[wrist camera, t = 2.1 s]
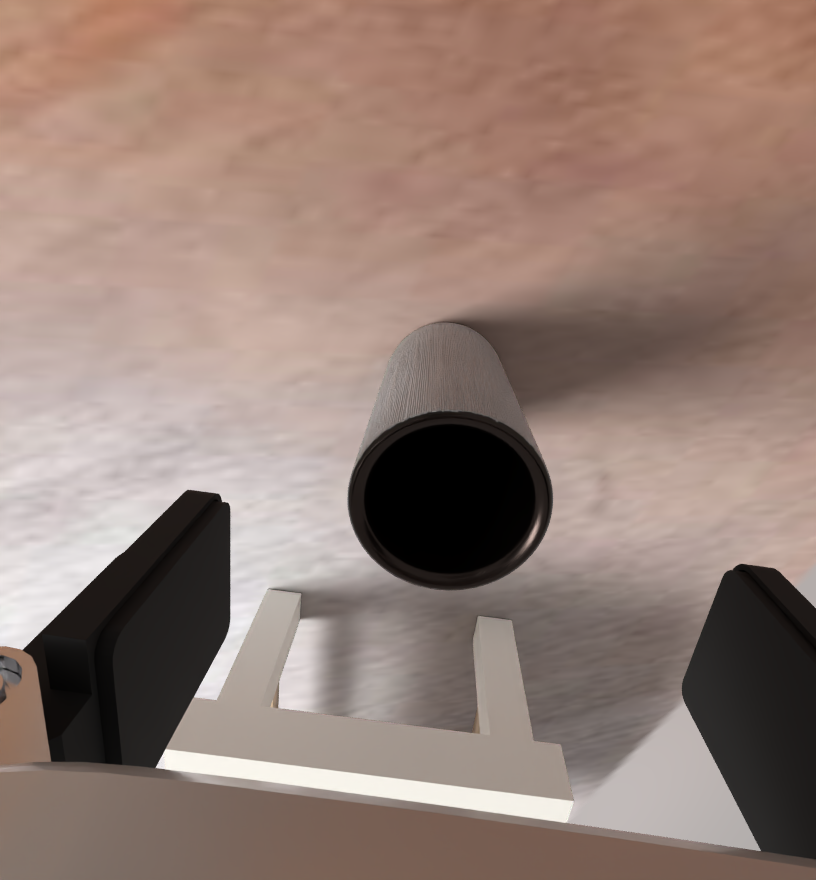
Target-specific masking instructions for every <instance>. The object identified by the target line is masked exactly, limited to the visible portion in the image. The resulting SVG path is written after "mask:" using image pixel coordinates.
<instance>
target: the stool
mask: <svg viewBox="0 0 816 880" xmlns="http://www.w3.org/2000/svg"><path fill="white" fill-rule="evenodd" d="M300 608H301V593H295V592H287V591H279V590H271V589H267V591H266V594H265V596H264V598H263V600H262V602H261V605H260V607H259V609H258V611H257V613H256V616H255V618H254V620H253V622H252V624H251V627H250V629H249V631H248V633H247V635H246V638H245V640H244V642H243V644H242V646H241V648H240V651H239V653H238V655H237V657H236V659H235V662H234V664H233V666H232V668H231V670H230V673H229V675H228V677H227V679H226V681H225V684H224V686H223V688H222V690H221V692H220V695H219V697H218V699H217V700H210V699H202V698H194V697H193V699H192V701H191V703H190V705H189V706H188V708H187V710H186V712H185V714H184V716H183V718H182V719H181V721H180V723H179V725H178V727H177V729H176V731H175V732H174V734H173V736H172V738H171V740H170V742H169V743H168V745H167V747H166V749H165V751H164V761H165V769H166V770H175V771H184V772H192V773H200V774H209V775H217V776H226V777H234V778H242V779H251V780H259V781H266V782H274V783H281V784H289V785H296V786H303V787H311V788H318V789H325V790H333V791H340V792H347V793H355V794H362V795H370V796H377V797H384V798H392V799H399V800H406V801H414V802H421V803H428V804H436V805H443V806H450V807H457V808H464V809H471V810H478V811H485V812H493V813H500V814H507V815H514V816H521V817H528V818H535V819H542V820H549V821H556V822H563V823H567V820H568V817H569V814H570V811H571V809H572V806H573V803H574V799H573V795H572V790H571V786H570V782H569V778H568V773H567V769H566V765H565V760H564V756H563V752H562V748H561V744H554V743H547V742H539V741H534V739H533V733H532V728H531V723H530V717H529V712H528V706H527V701H526V695H525V690H524V684H523V679H522V674H521V668H520V663H519V657H518V652H517V646H516V641H515V636H514V630H513V625H512V620H507V619H499V618H491V617H483V616H478V618H477V623H476V628H475V633H474V637H473V654H474V666H475V678H476V690H477V702H478V707H477V711H476V716H475V720H474V725H473V729H472V733H468V732H460V731H453V730H445V729H437V728H429V727H421V726H413V725H406V724H398V723H390V722H382V721H374V720H366V719H359V718H351V717H343V716H335V715H327V714H319V713H311V712H304V711H296V710H288V709H280V708H278V701H279V680H280V677H281V674H282V671H283V668H284V665H285V662H286V659H287V657H288V654H289V651H290V648H291V645H292V642H293V639H294V636H295V633H296V630H297V627H298V624H299V621H300Z"/></svg>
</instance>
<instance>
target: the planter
mask: <svg viewBox="0 0 816 880" xmlns="http://www.w3.org/2000/svg"><path fill="white" fill-rule="evenodd" d="M552 508H553V491H552V484H551V480H550V476H549V473H548V470H547V467H546V465H545V462H544V460H543V458H542V455H541V453H540V451H539V448H538V446H537V444H536V441H535V439H534V437H533V435H532V432H531V430H530V428H529V425H528V423H527V421H526V419H525V416H524V414H523V412H522V409H521V407H520V405H519V403H518V400H517V398H516V396H515V393H514V391H513V389H512V387H511V384H510V382H509V380H508V377H507V375H506V373H505V371H504V368H503V366H502V364H501V361H500V359H499V357H498V355H497V353H496V352H495V350H494V349H493V347H492V346H491V345H490V343H489V342H488V341H487V340H486V339H485V338H484V337H483V336H482V335H480V334H479V333H478V332H476V331H474V330H473V329H471V328H469V327H466V326H464V325H460V324H456V323H447V322H444V323H434V324H430V325H426V326H423V327H421V328H419V329H417V330H415V331H413V332H412V333H410V334H409V335H408V336H407V337H406V338H404V339H403V340H402V341H401V343H400V344H399V345H398V346H397V348H396V349H395V351H394V353H393V354H392V356H391V358H390V360H389V363H388V366H387V369H386V372H385V375H384V378H383V381H382V384H381V387H380V390H379V393H378V396H377V399H376V402H375V405H374V408H373V411H372V414H371V417H370V420H369V423H368V426H367V429H366V432H365V435H364V438H363V441H362V444H361V447H360V450H359V453H358V456H357V459H356V462H355V465H354V468H353V471H352V474H351V478H350V482H349V487H348V511H349V517H350V521H351V524H352V527H353V530H354V532H355V534H356V536H357V538H358V540H359V542H360V543H361V545H362V547H363V548H364V549H365V551H366V552H367V553H368V554H369V555H370V557H371V558H372V559H373V560H374V561H375V562H376V563H377V564H379V565H380V566H381V567H382V568H384V569H385V570H386V571H388V572H389V573H391V574H392V575H394V576H396V577H398V578H400V579H402V580H404V581H406V582H409V583H411V584H414V585H417V586H421V587H425V588H430V589H436V590H464V589H470V588H475V587H479V586H483V585H486V584H489V583H492V582H494V581H497V580H499V579H501V578H503V577H504V576H506V575H508V574H510V573H511V572H513V571H514V570H515V569H517V568H518V567H519V566H521V565H522V564H523V563H524V562H525V561H526V560H527V559H528V558H529V557H530V556H531V555H532V554H533V552H534V551H535V550H536V549H537V547H538V546H539V544H540V543H541V541H542V539H543V537H544V535H545V533H546V531H547V528H548V525H549V522H550V519H551V514H552Z"/></svg>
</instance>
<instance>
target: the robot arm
mask: <svg viewBox="0 0 816 880" xmlns="http://www.w3.org/2000/svg"><path fill="white" fill-rule="evenodd" d="M229 624H230V506H229V504H228V503H226V502H222V500H221V497H220V495H219V494H216V493H209V492H201V491H194V490H187V491H186V492H184V493H183V494H182V495H181V496H180V497H179V498H178V499H177V500H176V501H175V502H174V503H173V504H172V505H171V506H170V507H169V508H168V509H167V510H166V511H165V512H164V513H163V514H162V515H161V516H160V517H159V518H158V519H157V520H156V521H155V522H154V523H153V524H152V525H151V526H150V527H149V528H148V529H147V530H146V531H145V532H144V533H143V534H142V535H141V536H140V537H139V538H138V539H137V540H136V541H135V542H134V543H133V544H132V545H131V546H130V547H129V548H128V549H127V550H126V551H125V552H124V553H122V554H121V555H119V556H118V557H117V558H115V559H114V560H113V561H112V562H111V563H110V564H109V565H108V566H107V567H106V568H105V569H104V570H103V571H102V572H101V573H100V574H99V575H98V576H97V577H96V578H95V579H94V580H93V581H92V582H91V583H90V584H89V585H88V586H87V587H86V588H85V589H84V590H83V591H82V592H81V593H80V594H79V595H78V596H77V597H76V598H75V599H74V600H73V601H72V602H71V603H70V604H69V605H68V606H67V607H66V608H65V609H64V610H63V611H62V612H61V613H60V614H59V615H58V616H57V617H56V618H55V619H54V620H53V621H52V622H51V623H50V624H48V625H47V626H46V627H45V628H44V629H43V630H42V631H41V632H40V633H39V634H38V635H37V636H36V637H35V638H34V639H33V640H32V641H31V642H30V643H29V644H28V645H27V646H26V647H25V648H24V649H23V650H20V649H16V648H11V647H6V646H5V647H0V880H816V608H815V607H814V606H813V605H812V604H811V603H810V602H809V601H808V600H807V599H806V598H805V597H804V596H803V595H802V594H801V593H800V592H799V591H798V590H797V589H796V588H795V587H794V586H793V585H792V584H791V583H790V582H789V581H788V580H787V579H786V578H785V577H784V576H783V575H782V574H781V573H780V572H779V571H777V570H776V569H774V568H768V567H761V566H753V565H746V564H740V565H737V566H736V567H735V568H734V569H733V570H729V571H727V572H726V573H725V574H724V576H723V578H722V580H721V583H720V585H719V588H718V591H717V593H716V596H715V598H714V601H713V604H712V606H711V609H710V611H709V614H708V617H707V619H706V622H705V624H704V627H703V630H702V632H701V635H700V637H699V640H698V643H697V645H696V648H695V650H694V653H693V656H692V658H691V661H690V663H689V666H688V669H687V671H686V674H685V676H684V679H683V683H682V695H683V699H684V702H685V704H686V706H687V708H688V710H689V712H690V714H691V716H692V718H693V720H694V721H695V723H696V725H697V727H698V729H699V731H700V733H701V735H702V737H703V739H704V741H705V743H706V745H707V747H708V749H709V751H710V753H711V754H712V756H713V758H714V760H715V762H716V764H717V766H718V768H719V770H720V772H721V774H722V776H723V778H724V780H725V782H726V784H727V786H728V787H729V789H730V791H731V793H732V795H733V797H734V799H735V801H736V803H737V805H738V807H739V809H740V811H741V813H742V815H743V816H744V818H745V820H746V822H747V824H748V826H749V828H750V830H751V832H752V834H753V836H754V838H755V840H756V841H757V844H758V846H759V848H760V849H761V851H755V850H748V849H742V848H735V847H727V846H722V845H714V844H708V843H701V842H694V841H688V840H681V839H674V838H668V837H661V836H654V835H647V834H640V833H633V832H626V831H619V830H612V829H605V828H598V827H591V826H584V825H577V824H570V823H563V822H556V821H549V820H542V819H535V818H528V817H521V816H514V815H507V814H500V813H493V812H485V811H478V810H471V809H464V808H457V807H450V806H443V805H436V804H428V803H421V802H414V801H406V800H399V799H392V798H384V797H377V796H370V795H362V794H355V793H347V792H340V791H333V790H325V789H318V788H311V787H303V786H296V785H289V784H281V783H274V782H266V781H259V780H251V779H242V778H234V777H226V776H217V775H209V774H200V773H192V772H184V771H175V770H166V769H158V768H156V766H157V764H158V762H159V760H160V758H161V756H162V755H163V753H164V751H165V749H166V747H167V745H168V743H169V742H170V740H171V738H172V736H173V734H174V732H175V731H176V729H177V727H178V725H179V723H180V721H181V719H182V718H183V716H184V714H185V712H186V710H187V708H188V706H189V705H190V703H191V701H192V699H193V697H194V695H195V694H196V692H197V690H198V688H199V686H200V684H201V682H202V681H203V679H204V677H205V675H206V673H207V671H208V669H209V668H210V666H211V664H212V662H213V660H214V658H215V657H216V655H217V653H218V651H219V649H220V647H221V645H222V644H223V642H224V640H225V638H226V635H227V632H228V629H229Z"/></svg>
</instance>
